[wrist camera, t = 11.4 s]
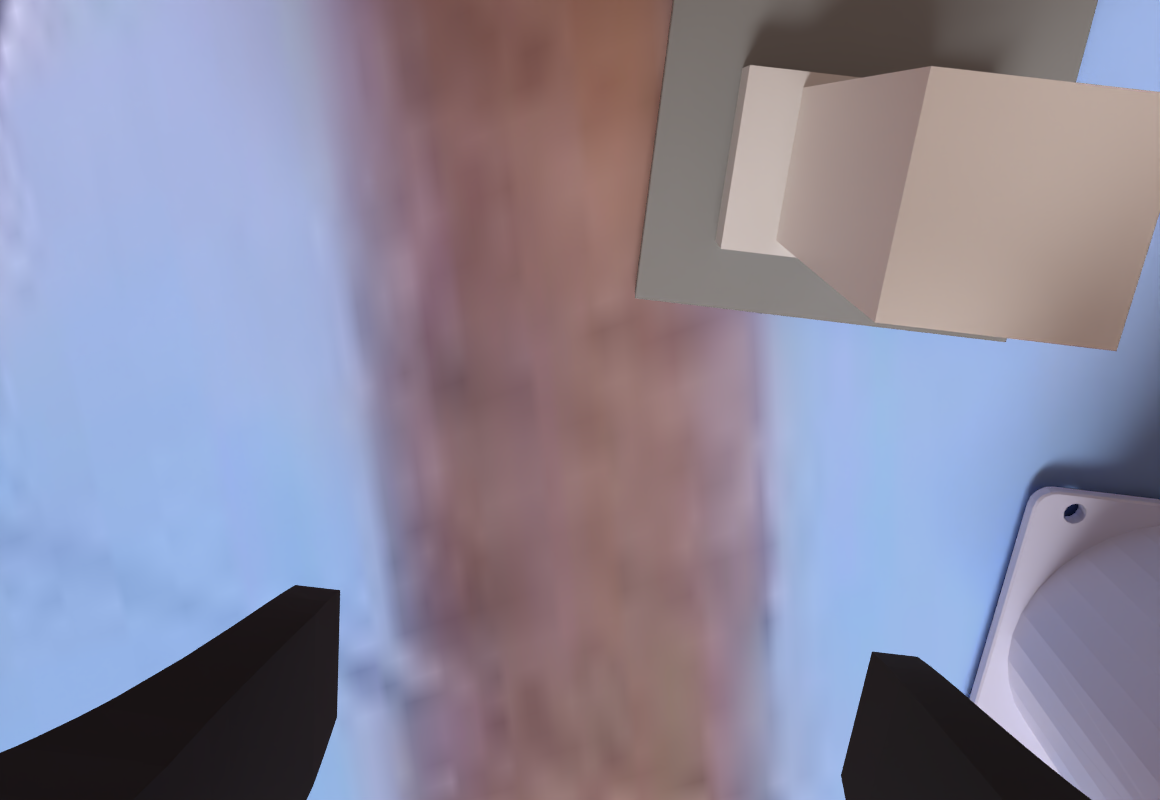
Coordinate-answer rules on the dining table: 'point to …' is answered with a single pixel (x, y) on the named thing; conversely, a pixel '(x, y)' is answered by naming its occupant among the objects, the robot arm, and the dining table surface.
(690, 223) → the slate mat
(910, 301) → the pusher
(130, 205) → the dining table surface
